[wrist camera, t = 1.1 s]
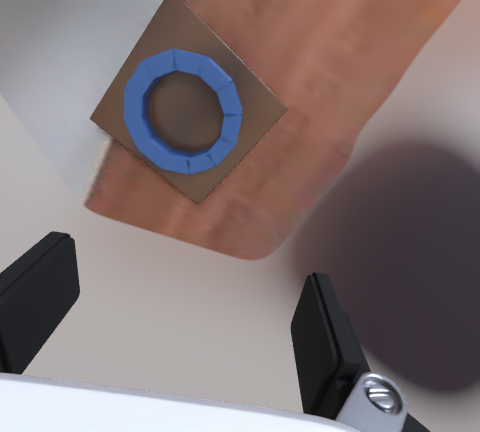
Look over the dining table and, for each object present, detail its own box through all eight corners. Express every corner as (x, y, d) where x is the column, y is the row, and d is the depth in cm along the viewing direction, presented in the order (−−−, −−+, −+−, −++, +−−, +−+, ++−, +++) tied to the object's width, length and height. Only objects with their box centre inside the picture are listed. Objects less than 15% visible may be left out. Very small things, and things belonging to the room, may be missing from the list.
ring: (112, 117, 29) (101, 121, 27) (175, 22, 25) (168, 18, 23) (196, 185, 32) (192, 193, 30) (263, 109, 28) (264, 113, 26)
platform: (102, 114, 32) (89, 118, 29) (178, -4, 27) (171, -12, 24) (202, 194, 36) (198, 205, 33) (285, 105, 31) (288, 108, 28)
